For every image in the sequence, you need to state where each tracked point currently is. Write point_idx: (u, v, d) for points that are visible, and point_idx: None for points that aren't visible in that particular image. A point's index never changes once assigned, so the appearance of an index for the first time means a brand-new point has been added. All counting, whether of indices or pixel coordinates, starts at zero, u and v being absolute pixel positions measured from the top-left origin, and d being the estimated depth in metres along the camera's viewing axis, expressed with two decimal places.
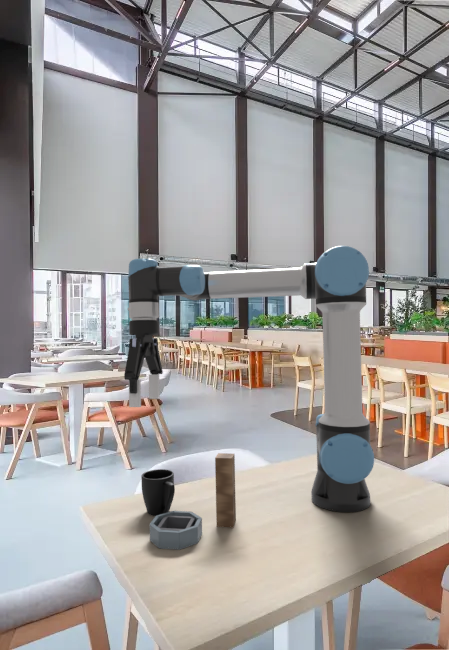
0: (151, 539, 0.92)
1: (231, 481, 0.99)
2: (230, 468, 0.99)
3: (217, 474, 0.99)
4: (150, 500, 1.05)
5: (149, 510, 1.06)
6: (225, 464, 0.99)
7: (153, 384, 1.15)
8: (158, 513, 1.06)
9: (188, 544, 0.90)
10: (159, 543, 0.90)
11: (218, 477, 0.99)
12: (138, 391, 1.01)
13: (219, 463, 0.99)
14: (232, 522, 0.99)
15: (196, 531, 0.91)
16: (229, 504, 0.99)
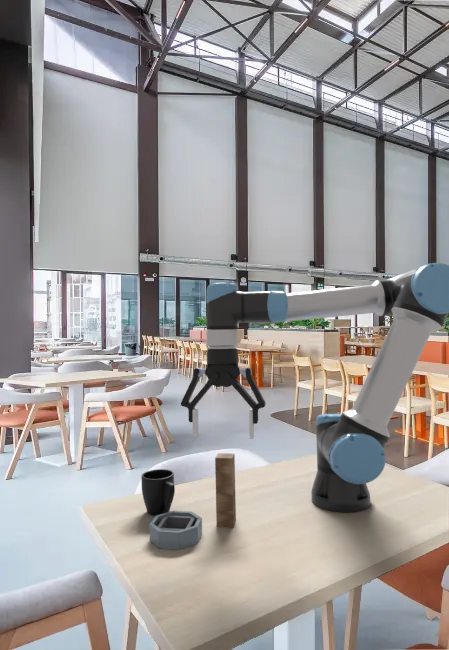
0: (151, 539, 0.92)
1: (231, 481, 0.99)
2: (230, 468, 0.99)
3: (217, 474, 0.99)
4: (150, 500, 1.05)
5: (149, 510, 1.06)
6: (225, 464, 0.99)
7: None
8: (158, 513, 1.06)
9: (188, 544, 0.90)
10: (159, 543, 0.90)
11: (218, 477, 0.99)
12: None
13: (219, 463, 0.99)
14: (232, 522, 0.99)
15: (196, 531, 0.91)
16: (229, 504, 0.99)
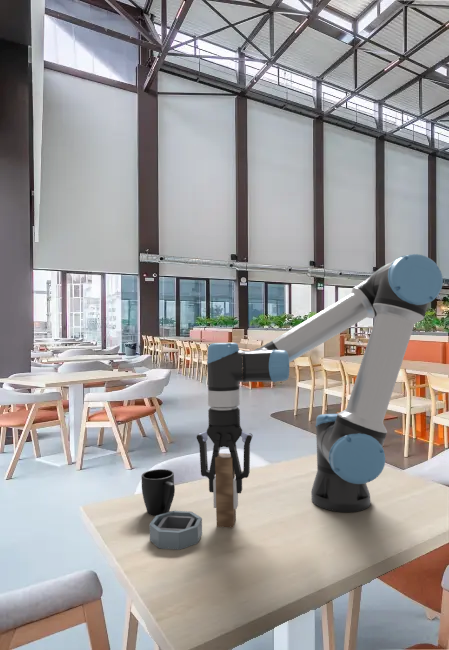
0: (151, 539, 0.92)
1: (231, 481, 0.99)
2: (230, 468, 0.99)
3: (217, 474, 0.99)
4: (150, 500, 1.05)
5: (149, 510, 1.06)
6: (225, 464, 0.99)
7: None
8: (158, 513, 1.06)
9: (188, 544, 0.90)
10: (159, 543, 0.90)
11: (218, 477, 0.99)
12: None
13: (219, 463, 0.99)
14: (232, 522, 0.99)
15: (196, 531, 0.91)
16: (229, 504, 0.99)
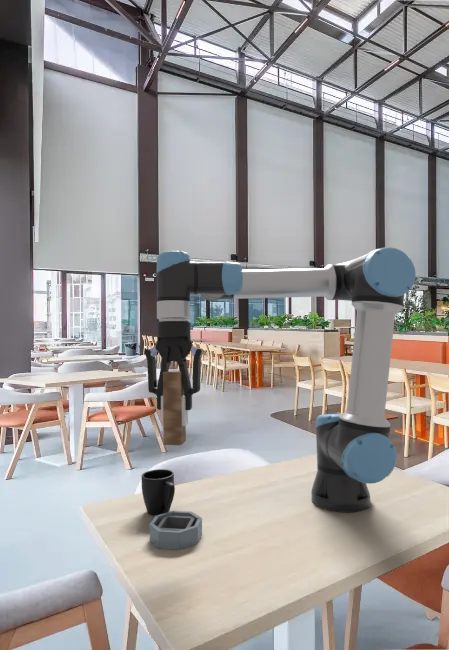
0: (151, 539, 0.92)
1: (179, 396, 0.93)
2: (178, 382, 0.93)
3: (165, 389, 0.94)
4: (150, 500, 1.05)
5: (149, 510, 1.06)
6: (173, 378, 0.94)
7: None
8: (158, 513, 1.06)
9: (188, 544, 0.90)
10: (159, 543, 0.90)
11: (166, 392, 0.94)
12: None
13: (167, 378, 0.94)
14: (180, 439, 0.93)
15: (196, 531, 0.91)
16: (176, 420, 0.93)
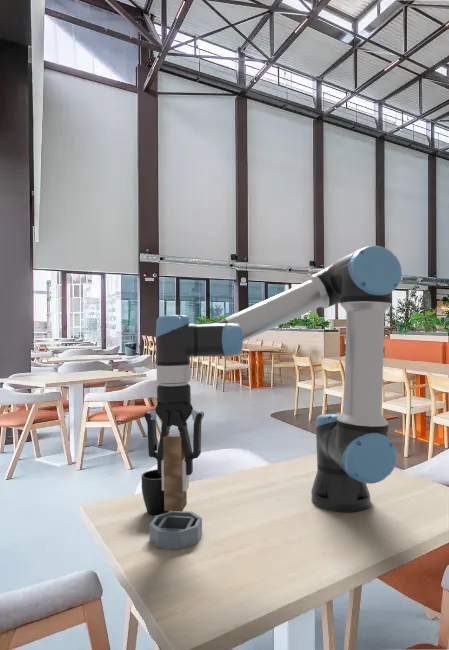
0: (151, 539, 0.92)
1: (180, 462, 0.93)
2: (179, 448, 0.93)
3: (165, 454, 0.93)
4: (150, 500, 1.05)
5: (149, 510, 1.06)
6: (173, 444, 0.93)
7: None
8: (158, 513, 1.06)
9: (188, 544, 0.90)
10: (159, 543, 0.90)
11: (166, 457, 0.93)
12: None
13: (167, 443, 0.93)
14: (181, 505, 0.93)
15: (196, 531, 0.91)
16: (177, 486, 0.93)
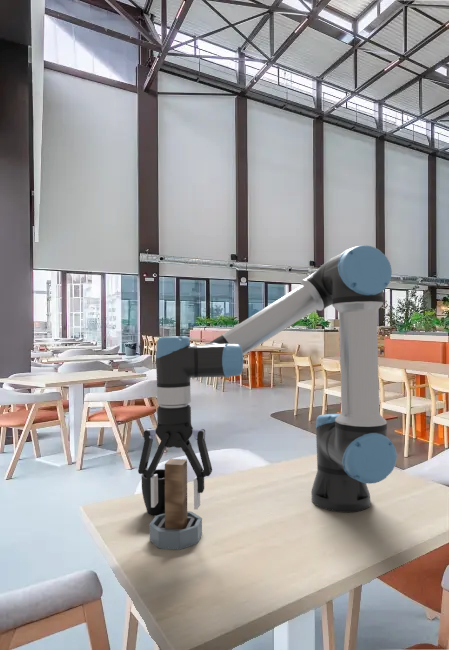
0: (151, 539, 0.92)
1: (181, 489, 0.92)
2: (180, 475, 0.92)
3: (166, 481, 0.93)
4: (150, 500, 1.05)
5: (149, 510, 1.06)
6: (175, 471, 0.93)
7: None
8: (158, 513, 1.06)
9: (188, 544, 0.90)
10: (159, 543, 0.90)
11: (168, 484, 0.93)
12: None
13: (169, 470, 0.93)
14: None
15: (196, 531, 0.91)
16: (178, 514, 0.92)
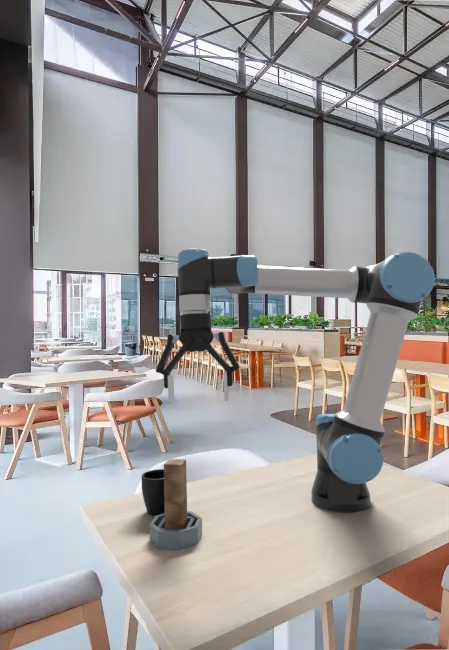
0: (151, 539, 0.92)
1: (180, 489, 0.93)
2: (179, 475, 0.93)
3: (166, 481, 0.93)
4: (150, 500, 1.05)
5: (149, 510, 1.06)
6: (174, 471, 0.93)
7: None
8: (158, 513, 1.06)
9: (188, 544, 0.90)
10: (159, 543, 0.90)
11: (167, 484, 0.93)
12: None
13: (168, 470, 0.93)
14: None
15: (196, 531, 0.91)
16: (178, 514, 0.93)
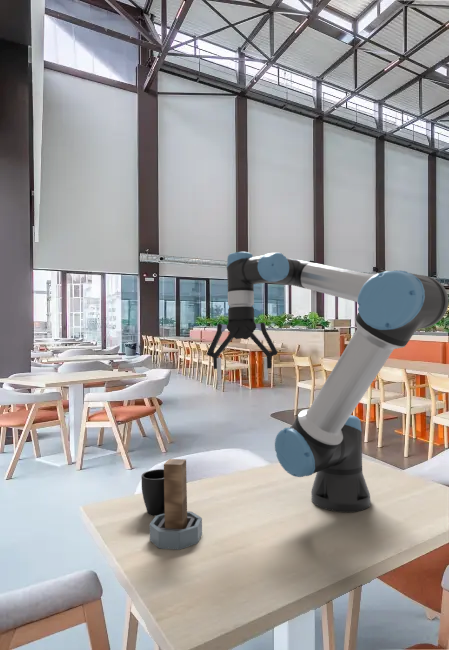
0: (151, 539, 0.92)
1: (180, 489, 0.93)
2: (179, 475, 0.93)
3: (166, 481, 0.93)
4: (150, 500, 1.05)
5: (149, 510, 1.06)
6: (174, 471, 0.93)
7: None
8: (158, 513, 1.06)
9: (188, 544, 0.90)
10: (159, 543, 0.90)
11: (167, 484, 0.93)
12: None
13: (168, 470, 0.93)
14: None
15: (196, 531, 0.91)
16: (178, 514, 0.93)
